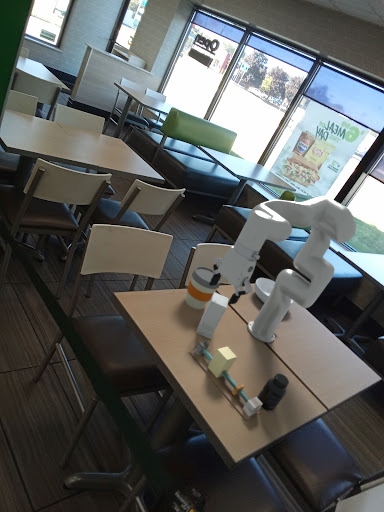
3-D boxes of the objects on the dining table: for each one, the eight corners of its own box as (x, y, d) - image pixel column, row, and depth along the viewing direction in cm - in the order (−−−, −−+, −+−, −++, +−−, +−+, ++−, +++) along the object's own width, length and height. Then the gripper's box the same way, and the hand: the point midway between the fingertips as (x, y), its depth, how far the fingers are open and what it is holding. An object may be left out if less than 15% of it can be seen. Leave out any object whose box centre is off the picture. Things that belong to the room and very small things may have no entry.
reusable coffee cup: (199, 315, 160) (213, 286, 154) (175, 298, 164) (189, 269, 158) (212, 306, 171) (227, 279, 165) (190, 290, 175) (203, 263, 169)
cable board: (204, 348, 143) (209, 338, 141) (260, 412, 126) (267, 402, 124) (189, 352, 137) (194, 342, 136) (245, 420, 120) (252, 410, 118)
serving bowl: (272, 317, 184) (279, 306, 181) (242, 290, 196) (248, 279, 193) (294, 310, 199) (301, 300, 196) (265, 286, 211) (271, 276, 208)
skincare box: (210, 340, 149) (227, 308, 142) (194, 332, 149) (211, 301, 142) (213, 328, 156) (229, 298, 150) (198, 321, 157) (214, 290, 150)
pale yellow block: (217, 364, 137) (227, 346, 133) (226, 374, 134) (236, 356, 130) (207, 367, 133) (217, 349, 130) (216, 377, 130) (227, 359, 127)
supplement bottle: (254, 393, 133) (270, 368, 128) (271, 397, 134) (288, 373, 129) (258, 409, 127) (276, 384, 122) (277, 413, 128) (294, 389, 123)
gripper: (272, 265, 115) (246, 310, 122) (235, 235, 126) (213, 277, 132) (257, 266, 110) (231, 312, 117) (219, 234, 120) (197, 278, 127)
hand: (221, 294), depth 125 cm, fingers open, 9 cm apart
